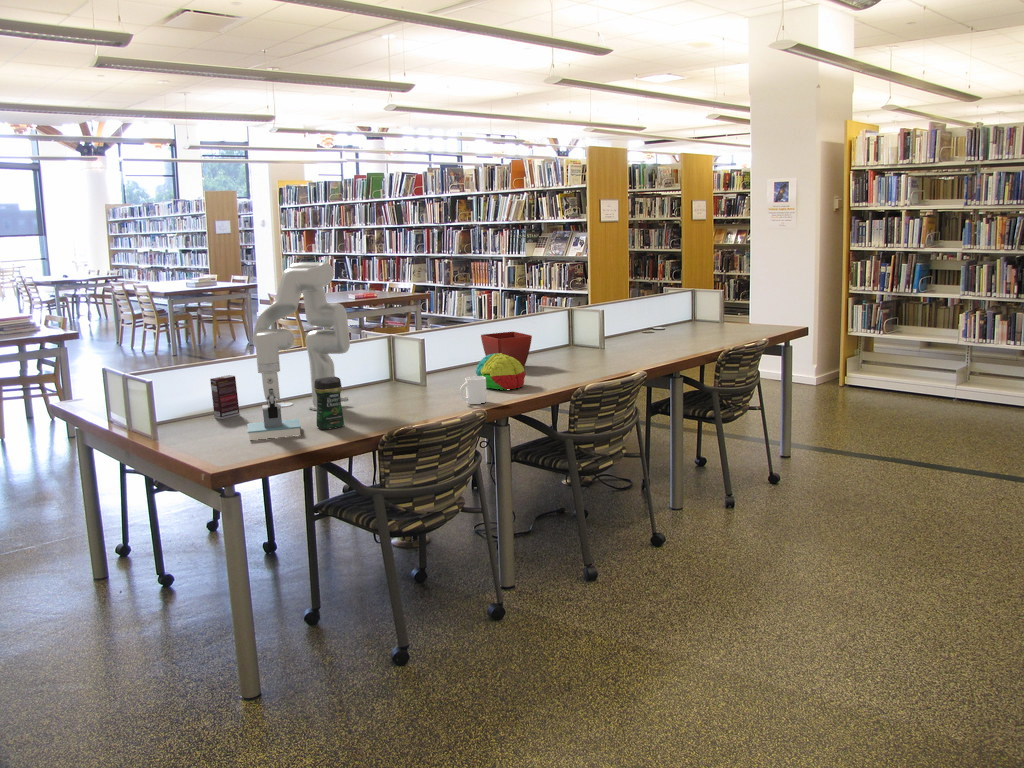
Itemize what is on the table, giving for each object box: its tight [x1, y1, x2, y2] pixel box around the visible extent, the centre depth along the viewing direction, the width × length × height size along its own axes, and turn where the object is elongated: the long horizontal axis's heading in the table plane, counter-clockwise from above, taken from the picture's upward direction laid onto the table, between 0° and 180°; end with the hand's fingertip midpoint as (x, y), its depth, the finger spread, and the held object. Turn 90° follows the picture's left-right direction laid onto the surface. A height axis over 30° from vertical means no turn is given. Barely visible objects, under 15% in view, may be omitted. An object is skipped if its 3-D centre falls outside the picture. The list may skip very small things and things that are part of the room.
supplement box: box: [209, 374, 240, 420], centre depth 328 cm, size 9×5×16 cm, turn 141°
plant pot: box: [480, 331, 533, 368], centre depth 414 cm, size 19×19×17 cm
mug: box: [459, 375, 488, 405], centre depth 338 cm, size 12×8×10 cm
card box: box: [261, 403, 283, 428], centre depth 298 cm, size 6×6×7 cm
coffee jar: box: [314, 376, 345, 430], centre depth 306 cm, size 10×8×19 cm
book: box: [246, 418, 302, 441], centre depth 299 cm, size 18×13×4 cm
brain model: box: [475, 353, 526, 391], centre depth 370 cm, size 24×19×15 cm
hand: (273, 415), depth 297 cm, fingers open, 9 cm apart
